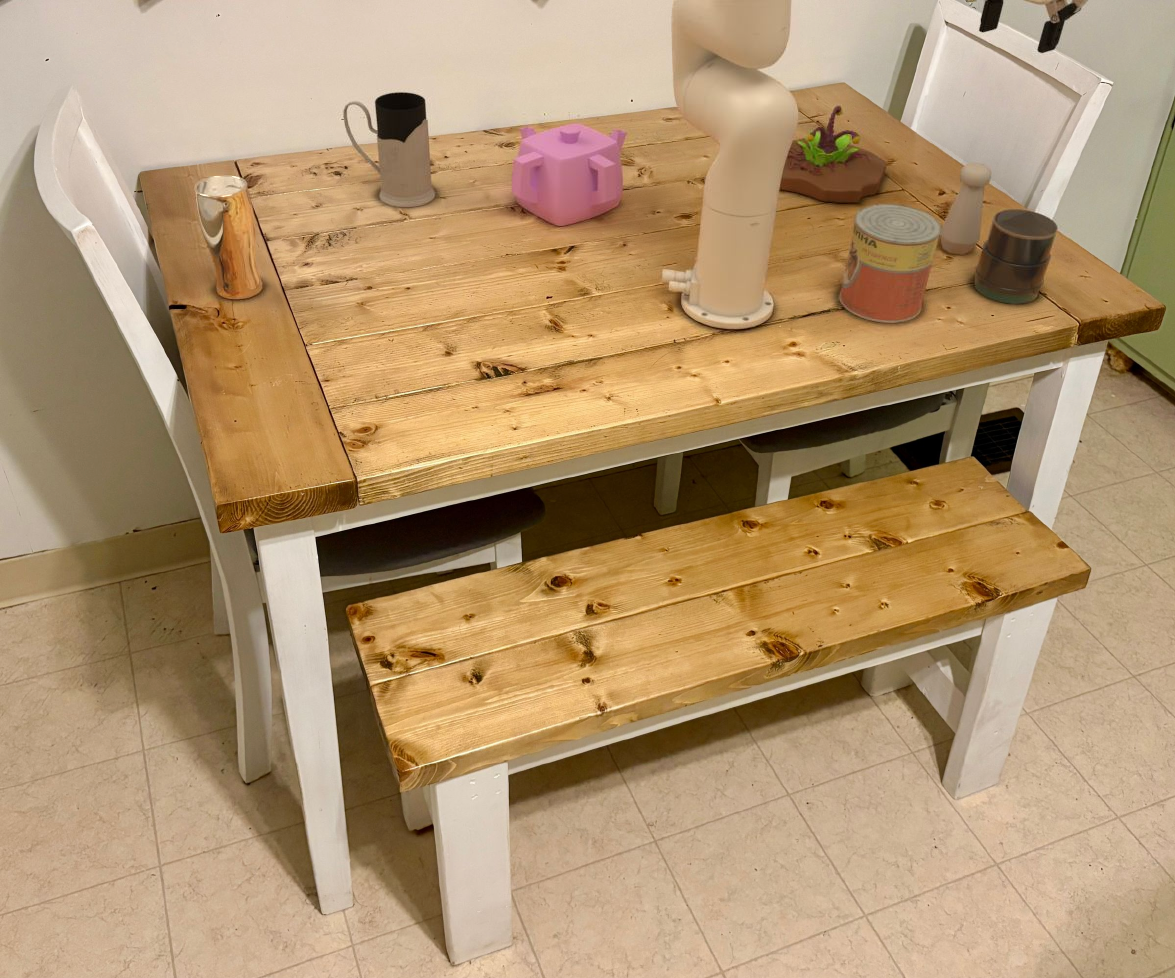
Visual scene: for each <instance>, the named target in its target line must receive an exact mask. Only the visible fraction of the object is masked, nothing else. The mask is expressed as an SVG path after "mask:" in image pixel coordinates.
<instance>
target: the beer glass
mask: <svg viewBox="0 0 1175 978" xmlns="http://www.w3.org/2000/svg"><path fill="white" fill-rule="evenodd" d="M193 187H194V188H193V189H194V195H195V205H196V211H197V217H198V223H199V226H200V230H201V233H202V236H203V239H204V241H205V244H206V246H207V249H208V250H209V253H210V256H211V258H212V261H213V264H214V268H215V275H216V276H215V277H216V278H215V279H216V280H215V281H216V282H215V283H216V285H215V286H216V292H217V294H218V295H219V296H220V297H222V298H224V299H228V300H236V301H238V300H245V299H249V298H252V297H254V296H257V295H258V294H259V293H261V291H262V289H263V287H264V285H263V281H262V279H261V276H260V274H259V271H258V267H257V262H256V220H255V213H254V208H253V207H254V206H253V203H252V199H251V194H250V191H249V187H248V182H247V181H246V180H245V179H244V178H243V177H241V176H237V175H231V174H218V175H212V176H207V177H205V178H203V179H202V178H201V180H199V181H198V182H196V183H195V185H194V186H193Z"/></svg>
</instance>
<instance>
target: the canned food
mask: <svg viewBox="0 0 1175 978" xmlns="http://www.w3.org/2000/svg"><path fill="white" fill-rule="evenodd" d="M941 228H942V225H941V223H940V222H939V221H938V220H937V219H936V218H935V217H934V216H933V215H931V214H929V213H927V212H926V211H924V210H921V209H917V208H914V207H911V206H907V205H903V204H893V203H880V204H873V205H868V206H866V207H863V208H861V209H860V210H858V211H857V212H856V214H855V216H854V224H853V230H852V234H851V239H850V244H849V249H848V254H847V258H846V259H847V260H846V265H845V270H844V275H843V279H842V283H841V290H840V292H839V296H838V297H839V302H840V304H841V305H842V307H843V308H844V309H845V310H846V311H848V312H849V313H851V314H853V315H854V316H856V317H859V318H861V319H864V320H867V321H871V322H875V323H876V322H877V323H882V324H898V323H904V322H909V321H911V320H913V319H914V318H916V317H917V316H919V315H920V313H921V311H922V304H923V300H924V296H925V292H926V289H927V285H928V281H929V278H930V273H931V269H932V265H933V261H934V258H935V257H934V256H935V254H936V251H937V250H936V249H937V245H938V241H939V237H940V233H941Z"/></svg>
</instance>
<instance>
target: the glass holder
mask: <svg viewBox="0 0 1175 978" xmlns="http://www.w3.org/2000/svg"><path fill="white" fill-rule="evenodd" d="M352 105H356V106H358V107H359V108H361V110H362V111H363V112H364V115H365V116H366V121H367V127H368V130H369V131H370V132H371V133H373V134H376V143H377V153H378V164H376V163H375V162H374V161H373V160H372V159H371V158H370V157H369V156H368V155H367V154H366V153H365V151H364V150H363V149H362V148H361V147H360V146H359V145H358V143H357V141H356V139H355V138H354V136H353V133H352V131H351V127H350V125H349V119H348V108H349V106H352ZM374 106H375V118H376V119H375V120H376V129H375V128H374V127H373V124H372V117H371V114H370V111H369V110H368V108H367V107H366V106H365V105H364V103H362V102H360V101H357V100H353V101H350V102H348V103H347V104H346V105H345V106H344V109H343V110H342V111H343V114H342V115H343V123H344V127H345V130H346V133H347V136H348V138H349V140H350V142H351V144H352V145H353V147H354V149H355V150H356V151H357V152H358V153H359V155H361V156H362V158H363V159H364V160H365V161H366V162H367V163H368V164H370V166H372V167H373V169H374V170H375V171H376V172H377V173H378V175H380V176H379V177H380V186H381V187H380V191H379V195H378V197H379V199H380V201H381V202H382V203H384V204H385V205H389V206H392V207H398V208H415V207H420V206H424V205H426V204H428V203H430V202H432V201H433V200H434V199H435V197H436V192H435V189H434V188H433V186H432V172H431V171H432V170H431V151H430V138H429V137H430V134H429V119H427V108H426V107H427V104H426V99H425V97H424V96H422V95H419V94H418V93H413V92H407V91H406V92H404V91H403V92H402V91H399V92H398V91H397V92H389V93H385V94H382V95H380V96H378V97H377V98H376V99H375V100H374Z"/></svg>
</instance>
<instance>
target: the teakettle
mask: <svg viewBox="0 0 1175 978" xmlns="http://www.w3.org/2000/svg"><path fill="white" fill-rule="evenodd" d="M519 134H520V136H521V139H522V141H521V142H520V146H519V150H518V155H517V157H514V158H512V159H513V160H512V171H511V172H512V174H511V176H512V177H511V188H510V194H512V195H513V196H514V197H515V199H516V202H517V204H518V205H519V206H520V207H522V208H523V209H524V210H526V211H528V212H530V213H531V214H533V215H534V216H536V217H539V218H540V219H542V220H544V221H546V222H547V223H550V224H551V225H553V226H556V227H564V226H570V225H573V224H577V223H580V222H584V221H587V220H590V219H593V218H596V217H599V216H601V215H602V214H605V213H607V212H610V211H611V210H613V209H615V208H616V207H618V206H619V204H620V202H621V199H622V197H623V192H624V177H623V165H622V160H621V159H622V158H621V152H622V149H623V147H624V143H625V141H626V137H627V134H628V132H627V131H625V130H623V129H612V132H611V134H610V135H609V136H608V135H606V134H604V133H602V132H599V131H598V130H595V129H593V128H591V127H589V126H586V125H584V124H582V123H578V122H577V123H576V122H575V123H569V124H564V125H561V126H557V127H554V128H549V129H546V130H543V131H540V132H536V131H535V129H534V127H532V126H524V127H521V128H519Z"/></svg>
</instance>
